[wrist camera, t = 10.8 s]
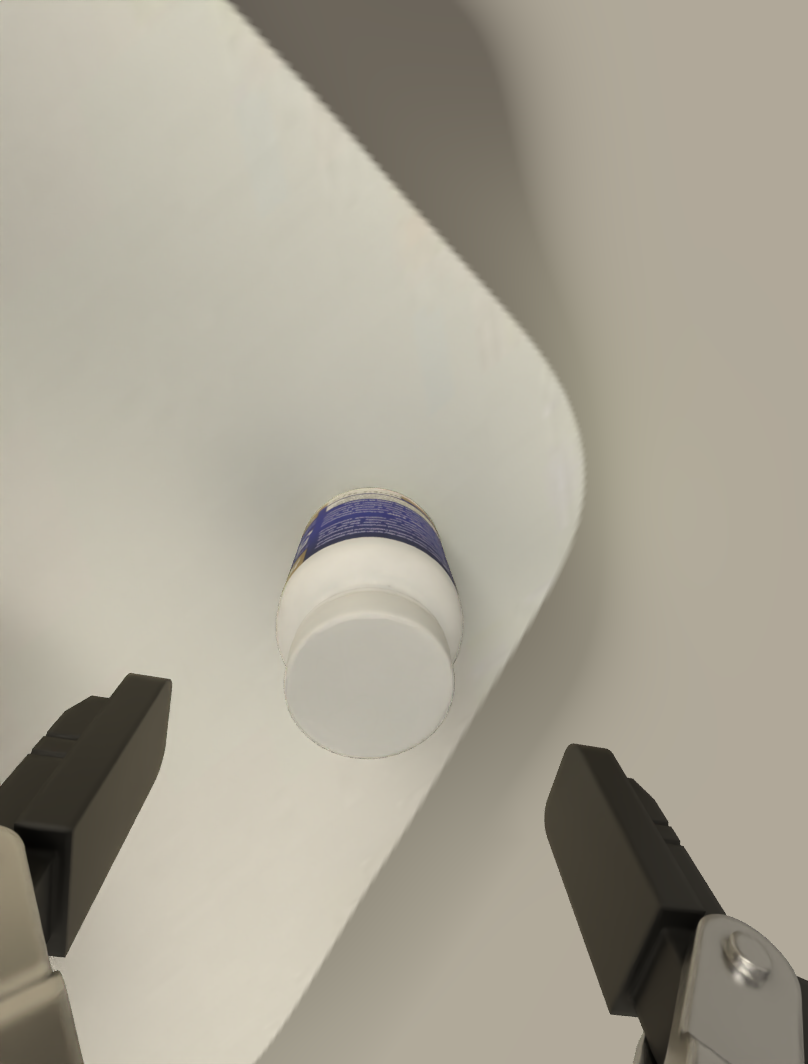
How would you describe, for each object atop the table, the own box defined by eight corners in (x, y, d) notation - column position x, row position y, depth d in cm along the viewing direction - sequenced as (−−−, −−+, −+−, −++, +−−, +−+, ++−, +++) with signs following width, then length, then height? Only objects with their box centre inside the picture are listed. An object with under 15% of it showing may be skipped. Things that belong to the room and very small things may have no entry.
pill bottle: (289, 494, 20) (231, 598, 12) (432, 476, 20) (474, 567, 12) (313, 624, 22) (277, 795, 14) (445, 607, 22) (490, 767, 14)
